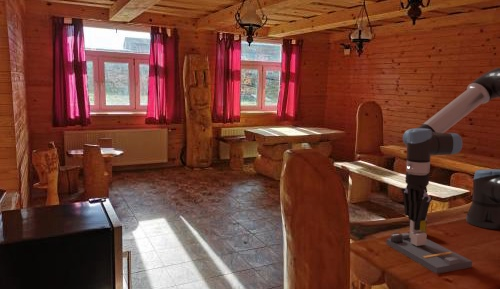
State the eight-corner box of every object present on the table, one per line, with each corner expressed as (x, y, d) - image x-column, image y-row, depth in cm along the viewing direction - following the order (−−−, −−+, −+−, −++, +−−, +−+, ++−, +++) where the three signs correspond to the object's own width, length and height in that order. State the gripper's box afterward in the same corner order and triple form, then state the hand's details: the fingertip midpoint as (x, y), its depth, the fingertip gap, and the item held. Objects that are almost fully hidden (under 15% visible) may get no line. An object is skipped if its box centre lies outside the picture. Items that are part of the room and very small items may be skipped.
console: (417, 239, 143) (418, 227, 142) (471, 267, 120) (472, 253, 120) (386, 244, 139) (386, 232, 138) (436, 273, 116) (437, 259, 116)
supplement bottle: (427, 237, 145) (429, 212, 144) (412, 236, 146) (414, 212, 145) (424, 232, 150) (425, 208, 149) (409, 231, 151) (410, 207, 150)
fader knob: (420, 241, 135) (420, 229, 134) (426, 244, 132) (427, 232, 132) (410, 242, 134) (410, 231, 133) (416, 246, 131) (416, 234, 130)
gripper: (396, 169, 137) (393, 232, 140) (422, 177, 124) (418, 245, 128) (413, 168, 139) (409, 229, 142) (440, 176, 126) (436, 243, 130)
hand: (413, 237), depth 135 cm, fingers closed
